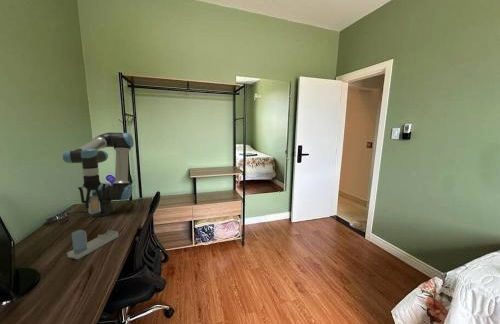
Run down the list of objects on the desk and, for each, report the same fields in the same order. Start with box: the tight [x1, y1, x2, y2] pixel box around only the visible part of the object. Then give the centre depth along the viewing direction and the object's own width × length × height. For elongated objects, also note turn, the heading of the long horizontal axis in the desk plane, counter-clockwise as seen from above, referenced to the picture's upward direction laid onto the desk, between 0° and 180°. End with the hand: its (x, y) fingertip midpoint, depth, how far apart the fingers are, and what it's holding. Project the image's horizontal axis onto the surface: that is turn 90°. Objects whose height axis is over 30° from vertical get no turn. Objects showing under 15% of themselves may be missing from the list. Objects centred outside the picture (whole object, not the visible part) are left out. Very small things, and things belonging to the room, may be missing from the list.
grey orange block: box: [89, 195, 99, 215], centre depth 125 cm, size 5×4×10 cm
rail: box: [66, 229, 119, 260], centre depth 116 cm, size 24×7×12 cm, turn 166°
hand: (94, 211), depth 126 cm, fingers closed on grey orange block, 4 cm apart
